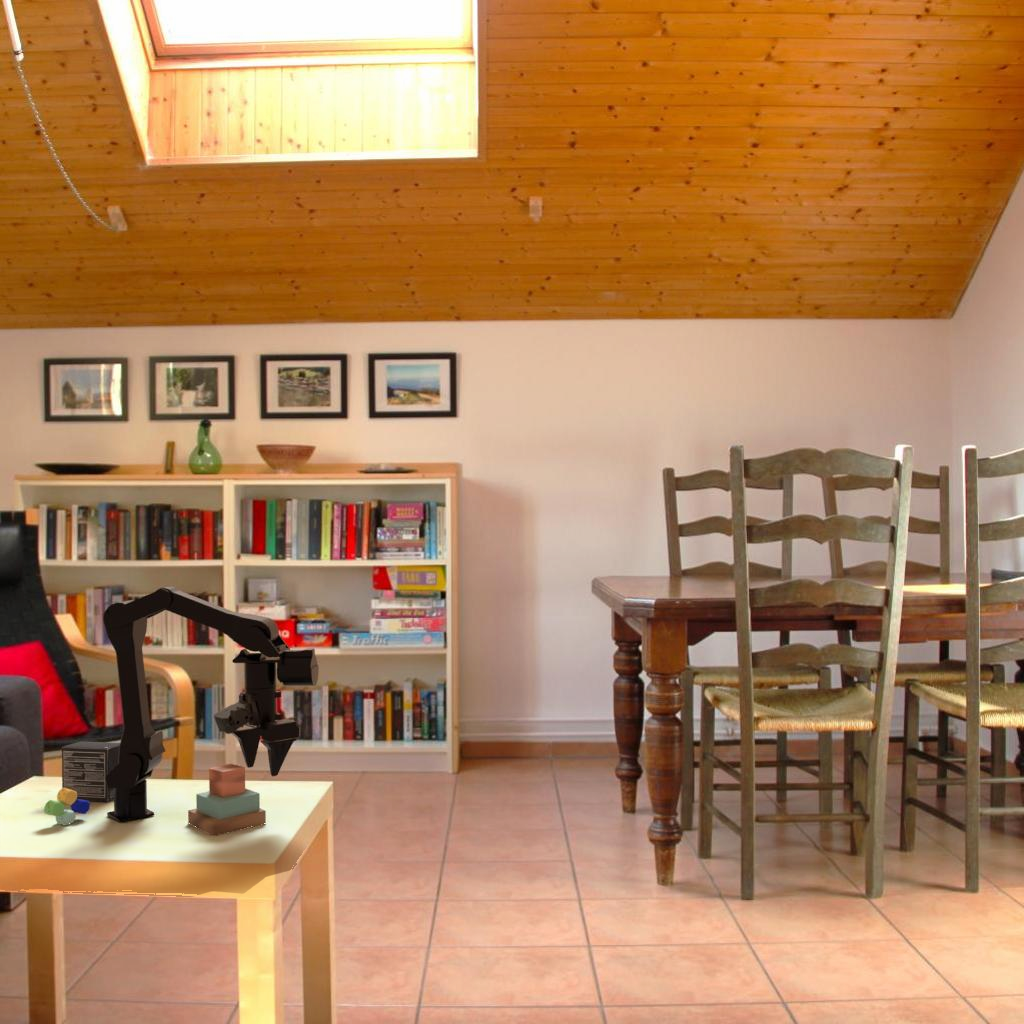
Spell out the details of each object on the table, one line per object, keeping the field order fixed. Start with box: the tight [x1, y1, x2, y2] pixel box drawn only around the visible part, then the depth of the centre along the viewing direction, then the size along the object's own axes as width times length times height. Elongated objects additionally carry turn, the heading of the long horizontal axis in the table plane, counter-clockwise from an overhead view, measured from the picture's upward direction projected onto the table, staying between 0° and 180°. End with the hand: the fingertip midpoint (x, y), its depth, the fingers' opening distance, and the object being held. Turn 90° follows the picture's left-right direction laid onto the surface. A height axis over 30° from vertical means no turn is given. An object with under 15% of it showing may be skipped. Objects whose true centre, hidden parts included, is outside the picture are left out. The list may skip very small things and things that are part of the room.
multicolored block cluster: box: [43, 788, 91, 825], centre depth 189 cm, size 8×3×6 cm, turn 145°
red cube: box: [208, 763, 246, 797], centre depth 188 cm, size 4×4×4 cm
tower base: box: [187, 808, 267, 837], centre depth 187 cm, size 10×10×3 cm
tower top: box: [195, 788, 261, 820], centre depth 187 cm, size 8×8×3 cm
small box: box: [61, 741, 120, 803], centre depth 206 cm, size 11×6×10 cm, turn 77°
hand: (262, 771), depth 192 cm, fingers open, 9 cm apart
